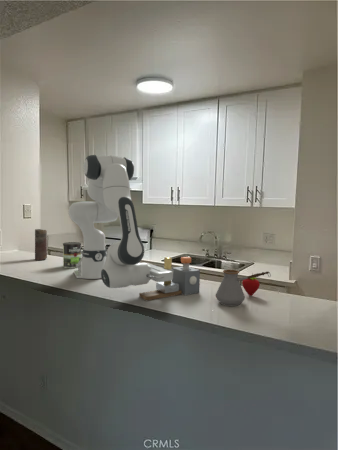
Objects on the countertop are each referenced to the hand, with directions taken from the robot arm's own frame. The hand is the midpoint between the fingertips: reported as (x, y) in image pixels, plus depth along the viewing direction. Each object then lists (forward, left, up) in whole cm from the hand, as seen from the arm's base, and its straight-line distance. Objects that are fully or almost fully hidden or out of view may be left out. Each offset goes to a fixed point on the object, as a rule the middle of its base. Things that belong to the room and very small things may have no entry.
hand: (169, 269), depth 134 cm
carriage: (0, -1, -9) cm, 9 cm away
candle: (-106, -30, -11) cm, 111 cm away
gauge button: (0, +9, -7) cm, 11 cm away
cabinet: (0, +9, -11) cm, 14 cm away
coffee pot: (+27, +16, -11) cm, 33 cm away
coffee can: (-75, -19, -11) cm, 78 cm away
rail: (0, -4, -11) cm, 11 cm away
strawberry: (+20, +29, -11) cm, 37 cm away
